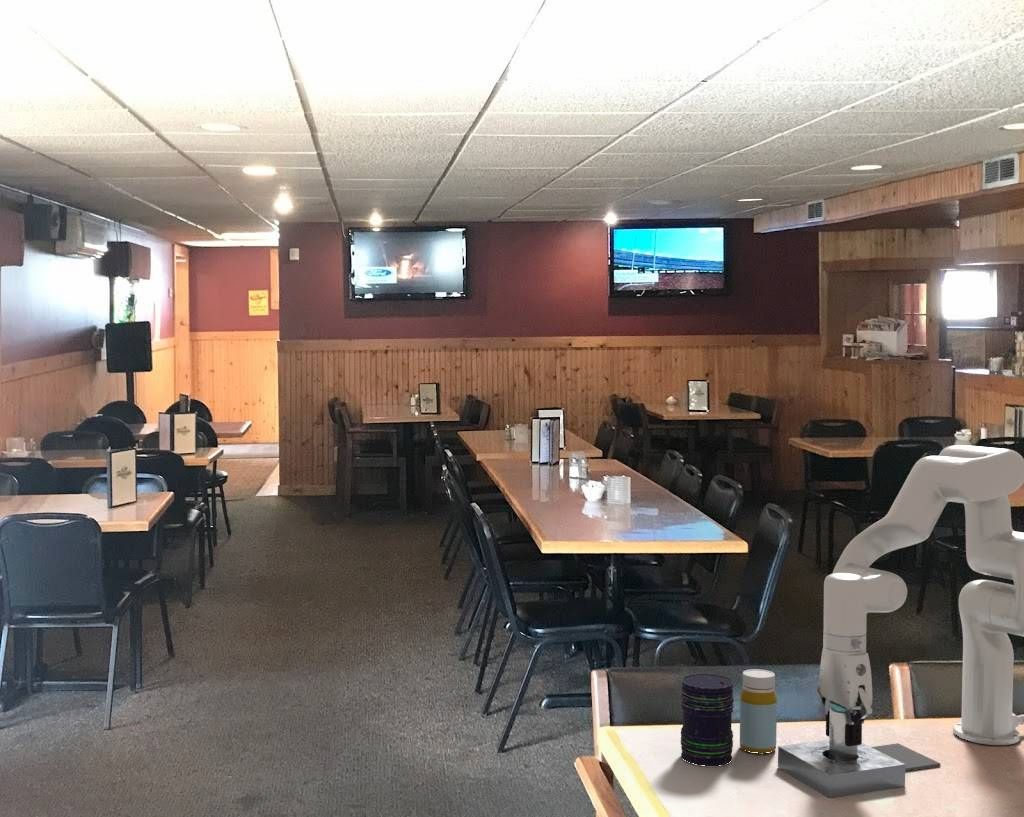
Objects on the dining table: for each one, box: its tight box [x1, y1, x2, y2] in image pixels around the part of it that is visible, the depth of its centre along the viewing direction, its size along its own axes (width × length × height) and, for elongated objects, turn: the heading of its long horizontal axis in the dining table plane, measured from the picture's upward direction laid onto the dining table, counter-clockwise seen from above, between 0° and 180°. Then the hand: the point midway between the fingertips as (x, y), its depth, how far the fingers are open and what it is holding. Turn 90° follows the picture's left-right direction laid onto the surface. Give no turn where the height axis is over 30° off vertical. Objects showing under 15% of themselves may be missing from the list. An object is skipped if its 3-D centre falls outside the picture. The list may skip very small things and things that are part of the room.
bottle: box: [739, 668, 778, 753], centre depth 228 cm, size 7×7×15 cm
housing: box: [777, 739, 906, 799], centre depth 214 cm, size 16×16×4 cm
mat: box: [870, 742, 941, 772], centre depth 223 cm, size 12×12×1 cm
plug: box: [828, 701, 858, 761], centre depth 214 cm, size 5×5×12 cm
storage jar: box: [680, 673, 734, 767], centre depth 223 cm, size 10×10×15 cm
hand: (843, 739), depth 214 cm, fingers closed on plug, 5 cm apart
